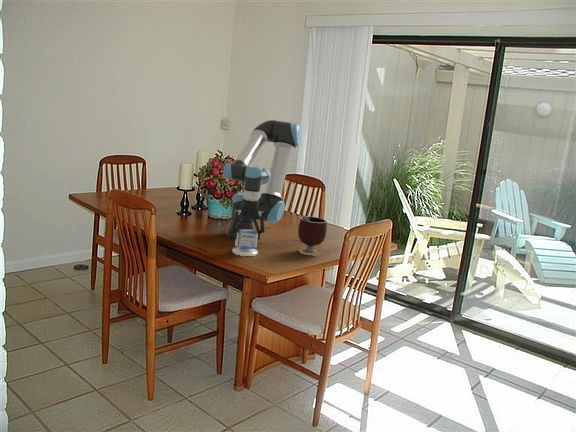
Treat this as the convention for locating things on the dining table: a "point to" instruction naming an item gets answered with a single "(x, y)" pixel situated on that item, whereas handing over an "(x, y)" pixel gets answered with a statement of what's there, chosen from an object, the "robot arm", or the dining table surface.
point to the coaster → (245, 252)
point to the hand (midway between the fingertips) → (245, 246)
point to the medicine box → (247, 239)
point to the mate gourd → (312, 232)
